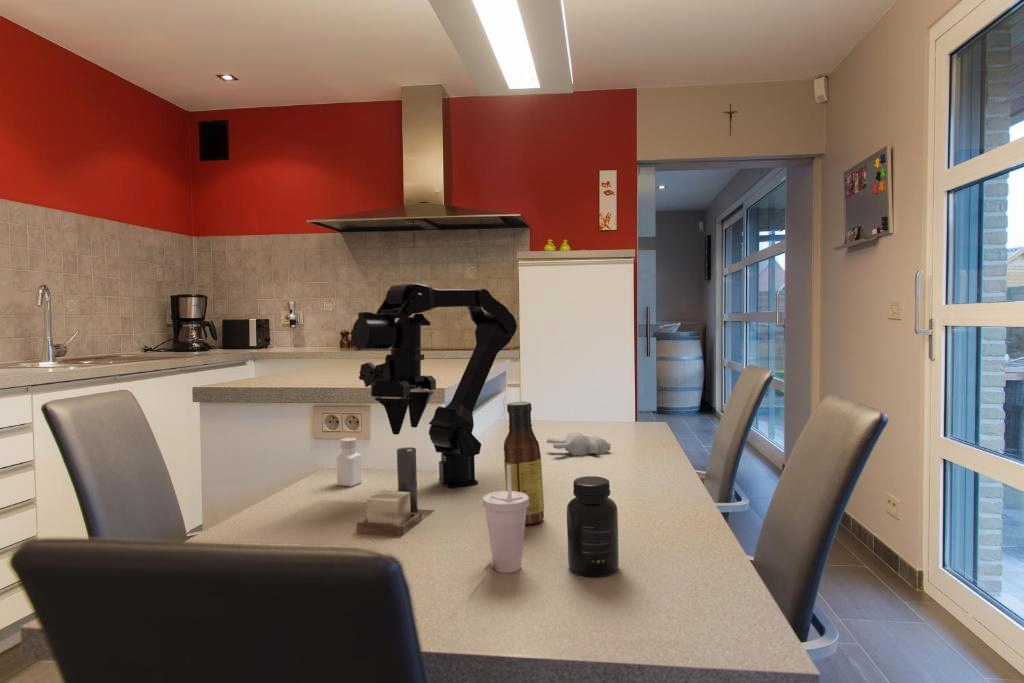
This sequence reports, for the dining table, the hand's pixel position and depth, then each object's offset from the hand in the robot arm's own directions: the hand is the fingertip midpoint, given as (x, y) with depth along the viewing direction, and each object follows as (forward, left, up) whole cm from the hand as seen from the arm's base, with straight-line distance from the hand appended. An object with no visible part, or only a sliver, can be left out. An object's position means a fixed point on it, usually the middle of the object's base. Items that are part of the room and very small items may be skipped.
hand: (405, 430), depth 118 cm
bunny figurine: (-48, -14, -13) cm, 52 cm away
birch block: (+8, +18, -12) cm, 23 cm away
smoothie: (-2, +39, -13) cm, 42 cm away
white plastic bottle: (+8, -16, -13) cm, 22 cm away
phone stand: (+6, +16, -13) cm, 22 cm away
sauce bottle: (-13, +23, -13) cm, 30 cm away
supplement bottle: (-12, +45, -13) cm, 49 cm away
